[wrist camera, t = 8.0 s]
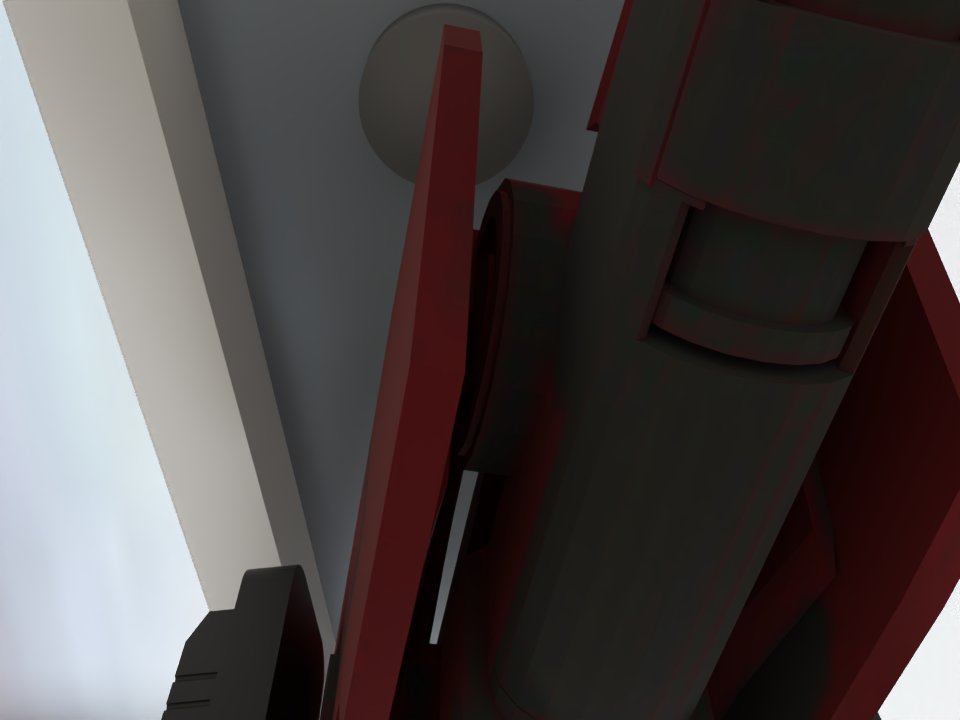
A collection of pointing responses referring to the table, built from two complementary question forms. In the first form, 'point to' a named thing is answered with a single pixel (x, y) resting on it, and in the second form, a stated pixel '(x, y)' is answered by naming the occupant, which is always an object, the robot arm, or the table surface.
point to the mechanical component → (674, 386)
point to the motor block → (282, 230)
